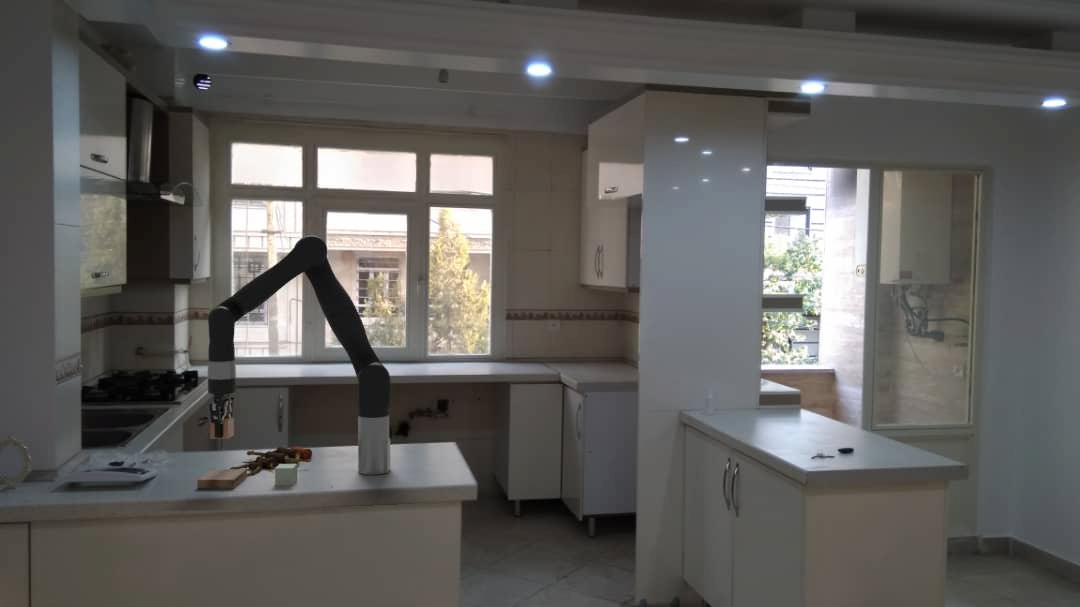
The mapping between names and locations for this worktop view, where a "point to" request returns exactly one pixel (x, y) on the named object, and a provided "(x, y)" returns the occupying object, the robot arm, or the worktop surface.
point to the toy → (276, 458)
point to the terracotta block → (227, 429)
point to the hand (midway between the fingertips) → (222, 435)
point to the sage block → (286, 474)
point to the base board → (222, 478)
